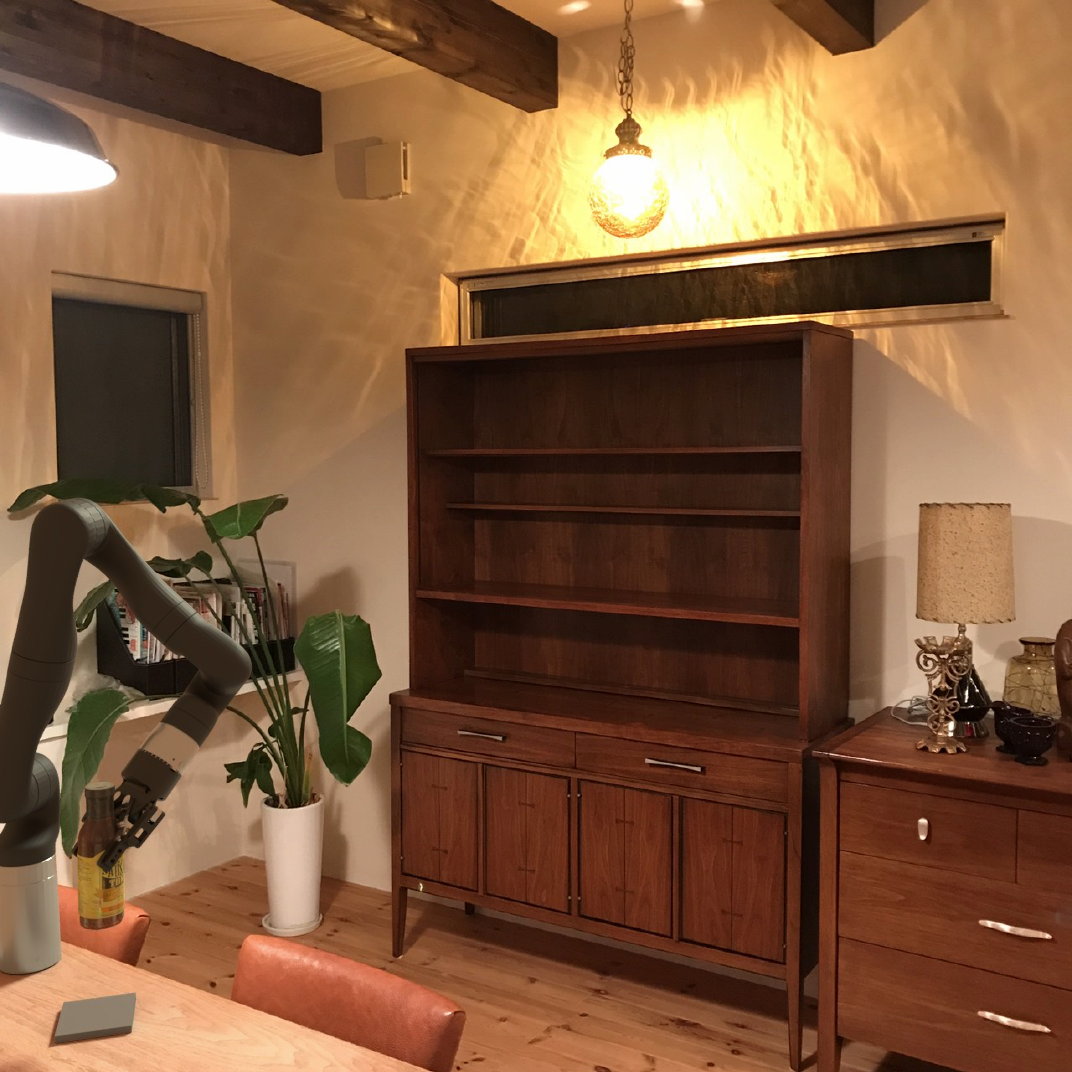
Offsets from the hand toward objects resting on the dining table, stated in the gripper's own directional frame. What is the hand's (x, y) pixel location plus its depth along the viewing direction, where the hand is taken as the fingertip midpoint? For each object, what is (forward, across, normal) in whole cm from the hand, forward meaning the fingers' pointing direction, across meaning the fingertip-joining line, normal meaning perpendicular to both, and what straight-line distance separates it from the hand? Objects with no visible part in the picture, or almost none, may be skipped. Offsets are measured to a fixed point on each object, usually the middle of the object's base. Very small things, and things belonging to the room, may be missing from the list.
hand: (89, 862), depth 163 cm
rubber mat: (+16, -1, +17) cm, 24 cm away
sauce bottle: (+6, 0, +8) cm, 10 cm away
